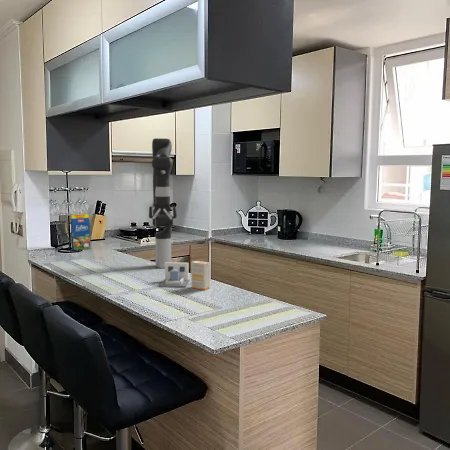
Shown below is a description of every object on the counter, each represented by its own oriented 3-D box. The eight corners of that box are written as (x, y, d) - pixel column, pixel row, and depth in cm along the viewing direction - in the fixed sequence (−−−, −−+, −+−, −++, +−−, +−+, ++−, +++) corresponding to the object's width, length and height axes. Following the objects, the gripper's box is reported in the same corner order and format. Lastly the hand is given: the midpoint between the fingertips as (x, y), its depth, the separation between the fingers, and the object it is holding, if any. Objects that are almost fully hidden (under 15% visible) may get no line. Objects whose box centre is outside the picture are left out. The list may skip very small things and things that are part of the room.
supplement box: (210, 288, 225) (210, 262, 223) (204, 290, 221) (204, 263, 219) (196, 285, 230) (196, 260, 228) (190, 287, 226) (190, 261, 224)
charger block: (171, 281, 235) (171, 269, 234) (179, 281, 235) (179, 269, 234) (170, 283, 231) (170, 270, 230) (178, 283, 231) (178, 270, 230)
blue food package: (90, 248, 331) (89, 214, 328) (73, 250, 325) (72, 215, 322) (88, 247, 337) (87, 213, 334) (71, 248, 330) (70, 214, 327)
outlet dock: (164, 280, 240) (164, 262, 239) (189, 281, 239) (189, 262, 238) (159, 286, 227) (159, 267, 226) (185, 287, 226) (185, 267, 225)
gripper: (177, 195, 241) (177, 225, 243) (150, 194, 242) (151, 225, 244) (174, 196, 234) (175, 227, 236) (147, 195, 235) (147, 227, 237)
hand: (162, 226), depth 240 cm, fingers open, 8 cm apart
